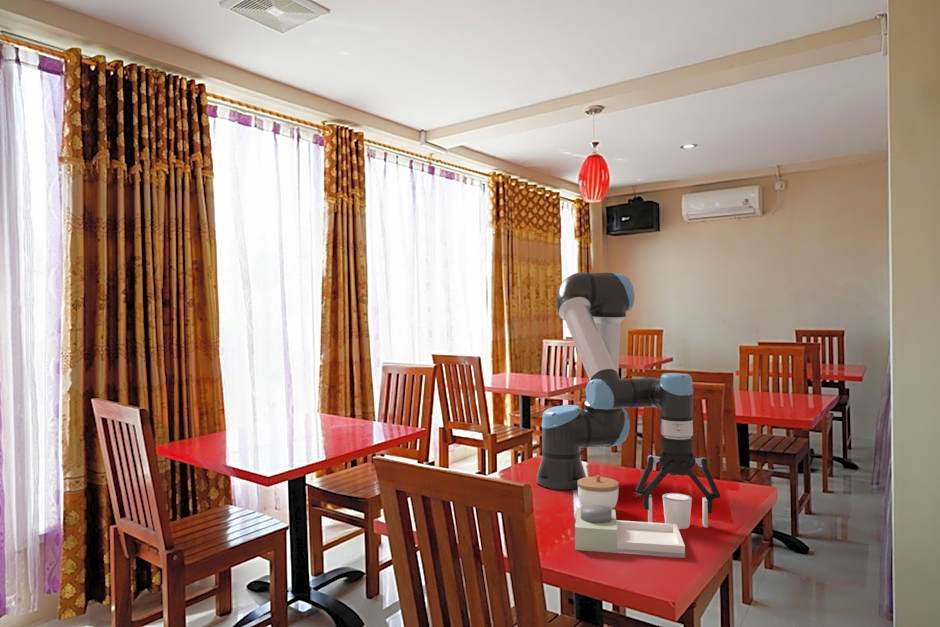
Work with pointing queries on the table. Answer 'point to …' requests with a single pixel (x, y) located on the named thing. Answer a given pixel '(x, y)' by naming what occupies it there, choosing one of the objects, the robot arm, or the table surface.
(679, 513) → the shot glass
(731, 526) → the table surface
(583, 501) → the lidded jar
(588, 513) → the knobbed tray panel
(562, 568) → the table surface
